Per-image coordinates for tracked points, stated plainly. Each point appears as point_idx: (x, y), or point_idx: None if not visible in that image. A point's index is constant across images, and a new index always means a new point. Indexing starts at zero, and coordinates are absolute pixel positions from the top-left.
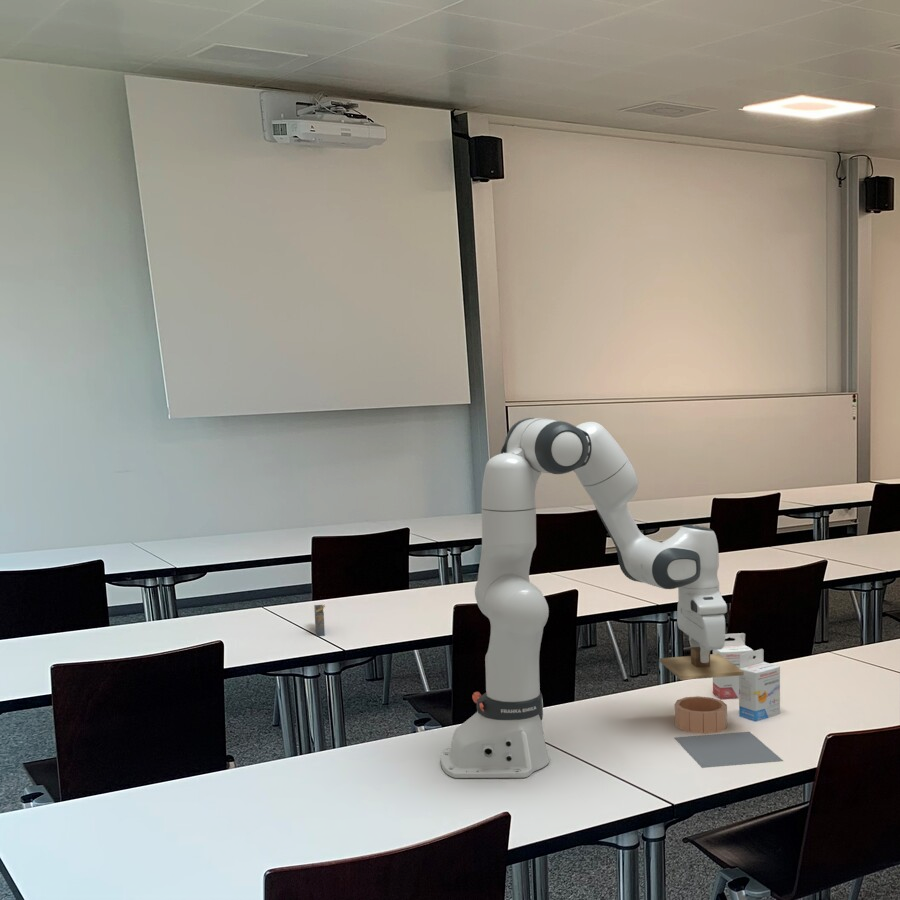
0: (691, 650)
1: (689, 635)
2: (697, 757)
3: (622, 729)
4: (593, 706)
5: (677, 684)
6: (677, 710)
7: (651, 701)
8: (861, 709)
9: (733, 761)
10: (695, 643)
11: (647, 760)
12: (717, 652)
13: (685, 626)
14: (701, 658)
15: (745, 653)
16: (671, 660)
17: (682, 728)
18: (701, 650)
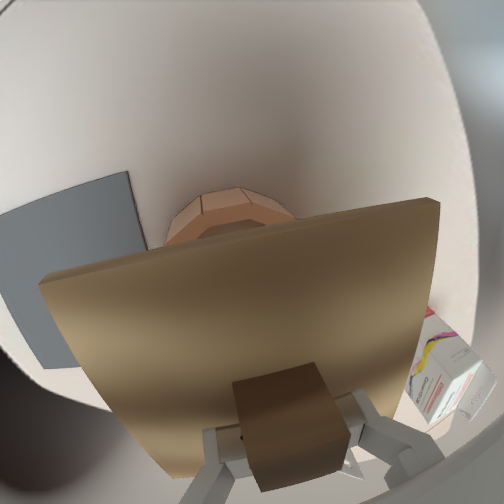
0: (332, 425)
1: (390, 499)
2: (10, 223)
3: (223, 36)
4: (398, 23)
5: (473, 242)
6: (217, 205)
7: (419, 165)
8: None
9: (11, 292)
10: (383, 449)
11: (7, 105)
12: (461, 368)
13: (478, 492)
14: (205, 448)
15: (343, 473)
16: (393, 263)
17: (191, 205)
18: (186, 497)
